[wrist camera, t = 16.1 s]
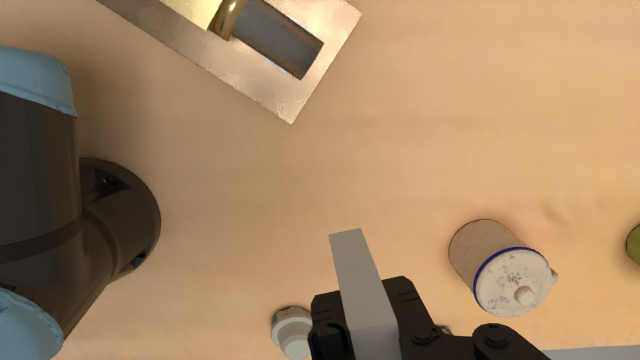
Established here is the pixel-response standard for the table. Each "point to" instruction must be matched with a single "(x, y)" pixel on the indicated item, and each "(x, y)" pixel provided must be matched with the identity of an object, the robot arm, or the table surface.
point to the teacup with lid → (500, 269)
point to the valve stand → (251, 41)
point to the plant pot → (634, 245)
